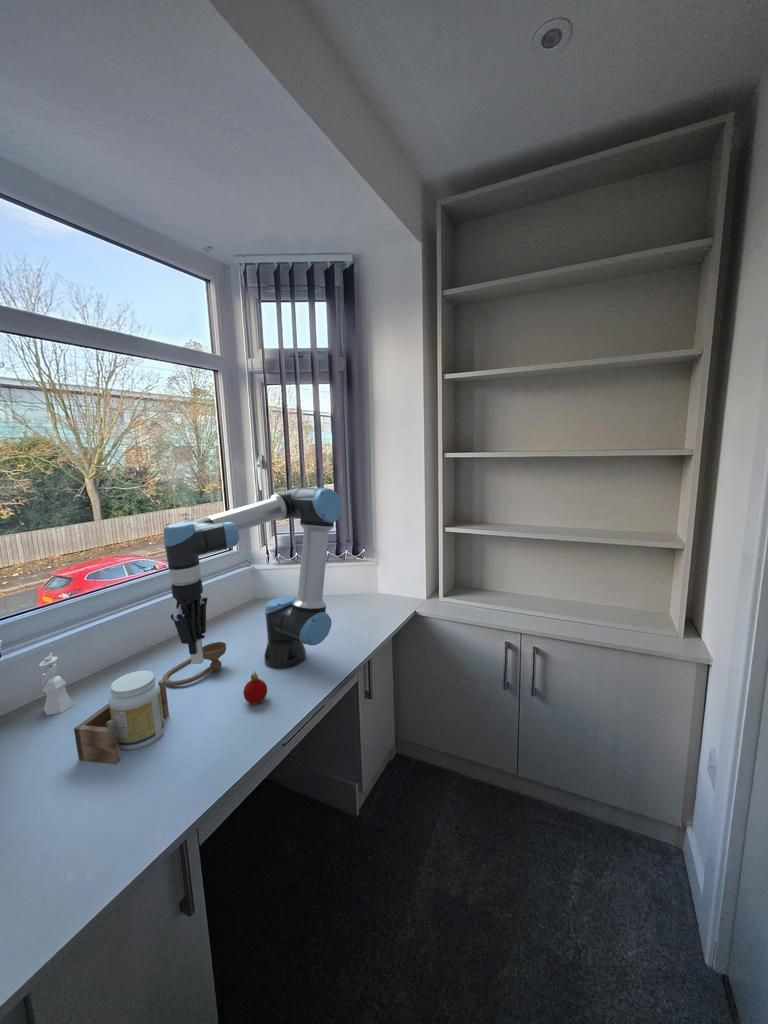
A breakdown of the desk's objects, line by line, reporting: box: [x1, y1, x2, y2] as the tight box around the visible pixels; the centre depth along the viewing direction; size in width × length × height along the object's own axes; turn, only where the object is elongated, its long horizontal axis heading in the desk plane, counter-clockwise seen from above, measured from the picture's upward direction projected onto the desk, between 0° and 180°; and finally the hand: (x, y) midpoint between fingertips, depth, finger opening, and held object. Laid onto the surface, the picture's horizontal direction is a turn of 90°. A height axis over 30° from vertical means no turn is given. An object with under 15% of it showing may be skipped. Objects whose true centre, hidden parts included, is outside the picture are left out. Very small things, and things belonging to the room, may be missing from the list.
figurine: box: [38, 652, 75, 716], centre depth 131 cm, size 7×8×18 cm
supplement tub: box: [108, 670, 166, 751], centre depth 116 cm, size 12×12×17 cm
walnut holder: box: [73, 680, 170, 766], centre depth 117 cm, size 11×20×11 cm, turn 170°
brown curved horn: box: [162, 641, 227, 687], centre depth 152 cm, size 24×9×19 cm
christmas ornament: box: [242, 671, 268, 705], centre depth 131 cm, size 7×7×10 cm
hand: (197, 662), depth 117 cm, fingers closed
